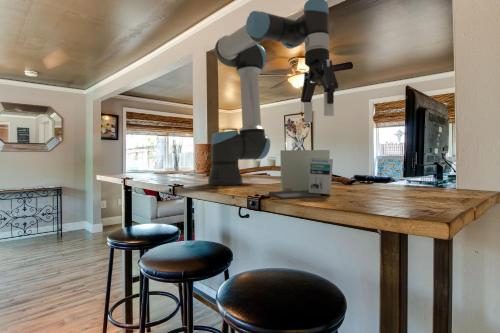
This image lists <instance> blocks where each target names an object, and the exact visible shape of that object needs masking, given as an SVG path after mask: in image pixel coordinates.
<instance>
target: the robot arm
mask: <svg viewBox="0 0 500 333" xmlns="http://www.w3.org/2000/svg"><path fill="white" fill-rule="evenodd" d="M329 20H330V11H329V2H328V1H327V0H307V1H305V3H304V5H303V14H302V15H301V16H299V17H298V18H297V19H293V18H289V17H284V16H279V15H275V14H273V13H269V12H268V13H267V12H265V11H258V10H251V11H250V13H249V14H248V16H247V18H246V23H245V25H243V26H241V27H240V28H237V30H236V31H234V32H233V33H231V34H229V35H224V36H222V37H220V38H219V39H218V40H217V41H216V43H215V45H214V53H215V56H216V58H217V60H218V61H219V62H220V63H221V64H222V65H224V66H226V67H230V68H236V69H235V70H236V74H237V75H238V76H239V78H240V79H239V81H240V99H241V100H240V101H241V104H240V105H241V121H242V127H241V128H240V130H239V131H238V130H226V131H219V132H215V133H213V134H212V135H211V144H210V146H211V168H210V172H209V175H208V178H207V183H208V185H210V186H236V185H242V184H243V175H242V173H241V171H240V170H241V169H240V167H239V160H240V161H241V160H245V161H247V160H253V161H255V160H262V159H264V158H266V157H267V155H268V154H269V152H270V149H271V139H270V137H269V134H266V133H265V131H266V130H265V128H264V127H262V120H261V118H262V116H261V100H260V98H261V97H260V95H261V94H260V79H259V76H260V74H262V70H264V68H265V66H266V62H267V54H266V50H265V48H264V47H263V46H262V45H261V44H260V43H262V42H264V41H267V40H270V41H274V42H279V43H282V45H283V46H284V47H285V48H286V49H289V50H290V49H291V50H292V49H295V48H297V47H299V46H301V45H303V44H304V52H305V53H304V64H305V66H306V67H308V68H309V69H308V72H304V74H303V84H302V90H301V96H300V102H301V103H303V112H304V113H303V116H304V118H303V121H304V123H312V122H313V121H314V120H313V114H314V113H313V95H314V92H315V90H316V86H317V85H319V83H320V85H321V86H322V87H323V89H324V90H323V114H324V115H323V116H325V117H333V116H335V115H334V114H335V112H334V110H335V108H334V107H335V104H334V102H335V101H334V99H335V98H334V97H335V96H334V95H335V93H336V92H335V91H336V90H337V89H339V83H338V80H337V77H336V74H335V72H334V68H333V60H331V59H330V50H329V49H330V21H329Z"/></svg>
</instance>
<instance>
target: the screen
mask: <svg viewBox="0 0 500 333" xmlns="http://www.w3.org/2000/svg"><path fill="white" fill-rule="evenodd" d="M279 155H280V156H279V157H280V191H302V190H304V191H309V168H310V159H311V158H321V159H331V158H330V157H331V156H330V155H331V154H330V149H301V150H300V149H296V150H295V149H294V150H293V149H289V150H286V149H285V150H283V149H282V150H281V149H280V154H279Z"/></svg>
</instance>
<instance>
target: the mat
mask: <svg viewBox="0 0 500 333" xmlns="http://www.w3.org/2000/svg"><path fill="white" fill-rule="evenodd" d="M268 194H269V195H271V196H273V197H276V198H279V199H281V200H290V199H291V200H292V199H309V198H311V199H314V198H322V194H317V193H309V190H302V191H281V190H280V191H269V192H268Z"/></svg>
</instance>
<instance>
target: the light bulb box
mask: <svg viewBox="0 0 500 333" xmlns="http://www.w3.org/2000/svg"><path fill="white" fill-rule="evenodd" d="M333 163H334V159H333V158H330V159H321V158H311V159H310V168H309V190H308V192H309V193H315V194H319V195H331V194H332V180H333V179H332V178H333V177H332V176H333V165H334V164H333Z"/></svg>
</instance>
